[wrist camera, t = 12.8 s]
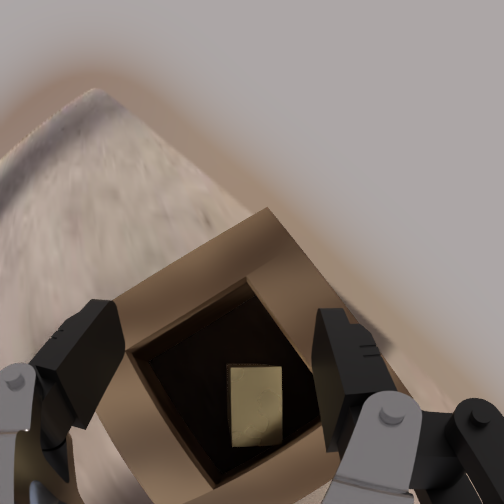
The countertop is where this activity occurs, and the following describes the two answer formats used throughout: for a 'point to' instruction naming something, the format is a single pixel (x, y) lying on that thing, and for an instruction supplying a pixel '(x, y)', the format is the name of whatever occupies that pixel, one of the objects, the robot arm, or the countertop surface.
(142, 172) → the countertop surface
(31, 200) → the countertop surface
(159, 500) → the wooden box
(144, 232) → the countertop surface
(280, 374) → the beige rectangular block
